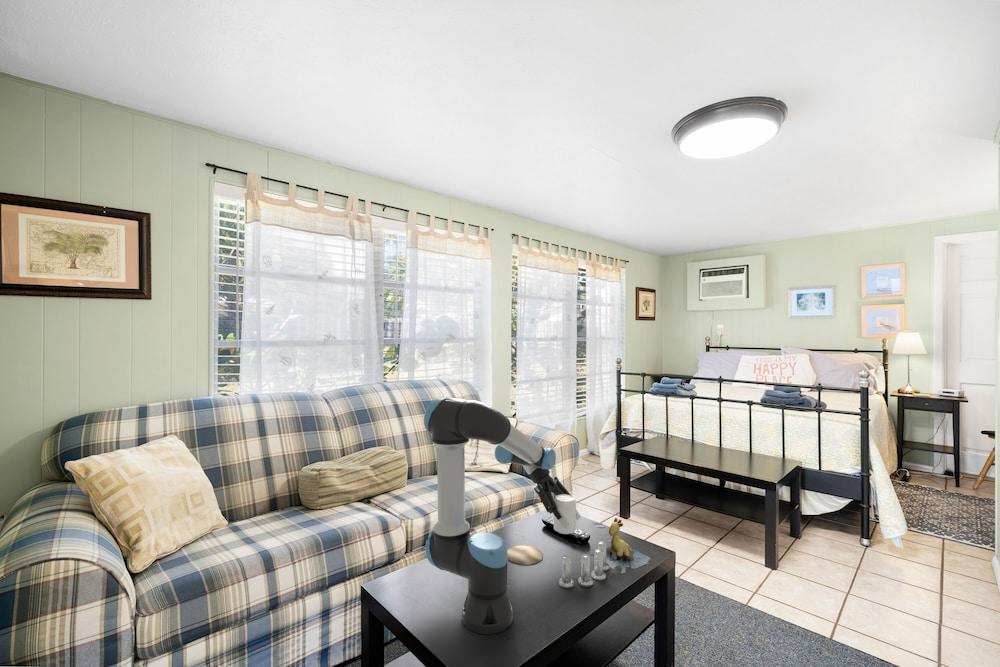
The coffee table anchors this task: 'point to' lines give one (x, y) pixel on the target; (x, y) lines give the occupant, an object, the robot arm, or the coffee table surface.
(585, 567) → the posts
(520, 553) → the cork coaster
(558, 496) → the beverage can
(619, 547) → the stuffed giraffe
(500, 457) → the robot arm
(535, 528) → the coffee table surface
